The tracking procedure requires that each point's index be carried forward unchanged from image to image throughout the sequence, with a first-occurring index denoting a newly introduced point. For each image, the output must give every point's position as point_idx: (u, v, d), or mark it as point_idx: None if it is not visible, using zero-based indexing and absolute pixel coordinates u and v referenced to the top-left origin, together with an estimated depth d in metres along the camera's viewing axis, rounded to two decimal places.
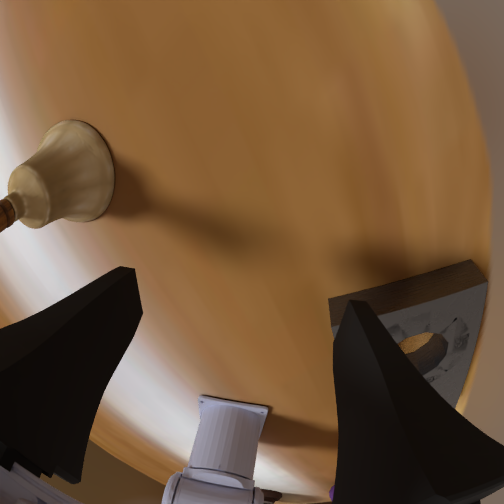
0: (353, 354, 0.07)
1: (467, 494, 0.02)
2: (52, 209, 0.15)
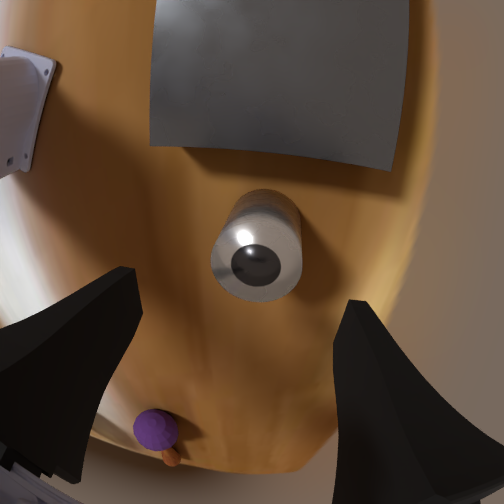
0: (353, 354, 0.07)
1: (467, 494, 0.02)
2: None
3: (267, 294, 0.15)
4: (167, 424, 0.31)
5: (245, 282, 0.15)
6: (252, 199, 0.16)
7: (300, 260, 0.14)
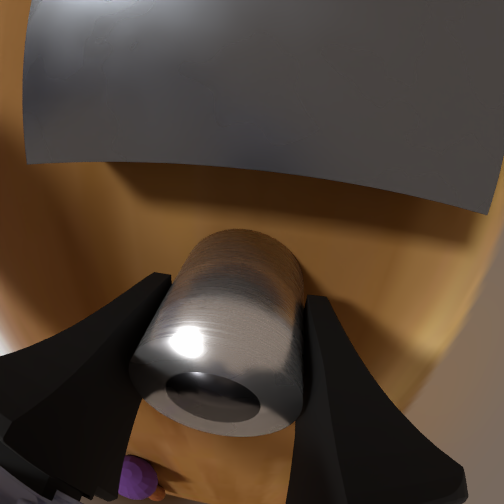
0: (307, 350, 0.08)
1: None
2: None
3: (238, 430, 0.07)
4: (144, 475, 0.23)
5: (197, 415, 0.07)
6: (212, 255, 0.08)
7: (299, 400, 0.06)
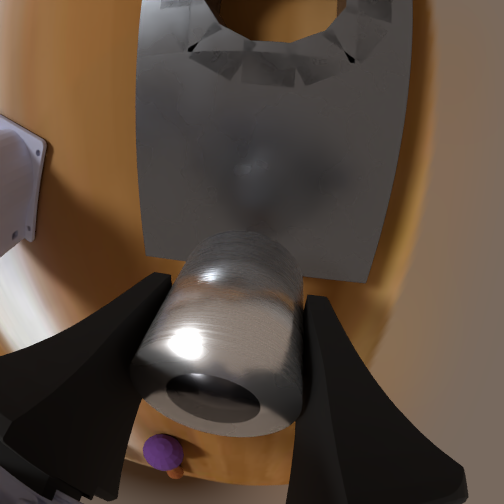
0: (307, 350, 0.08)
1: None
2: None
3: (238, 431, 0.07)
4: (174, 448, 0.33)
5: (197, 416, 0.07)
6: (212, 257, 0.08)
7: (299, 401, 0.06)
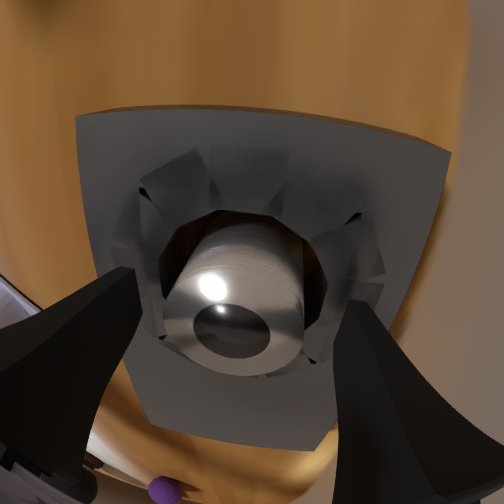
0: (353, 354, 0.07)
1: (467, 494, 0.02)
2: None
3: (250, 368, 0.10)
4: (174, 490, 0.35)
5: (216, 352, 0.09)
6: (230, 222, 0.11)
7: (301, 328, 0.08)
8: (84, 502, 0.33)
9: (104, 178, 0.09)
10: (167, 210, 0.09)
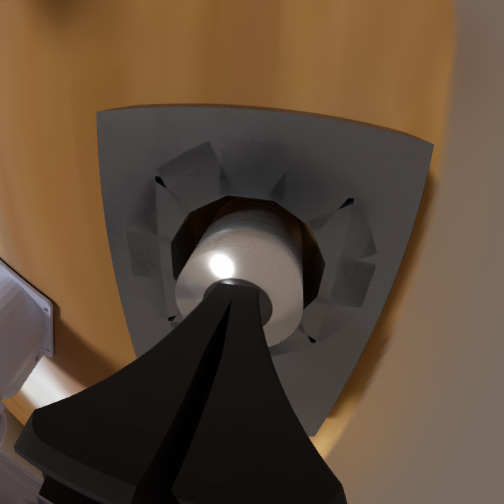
0: None
1: None
2: None
3: None
4: None
5: None
6: (237, 209, 0.12)
7: (300, 302, 0.09)
8: None
9: (123, 168, 0.10)
10: (181, 196, 0.10)
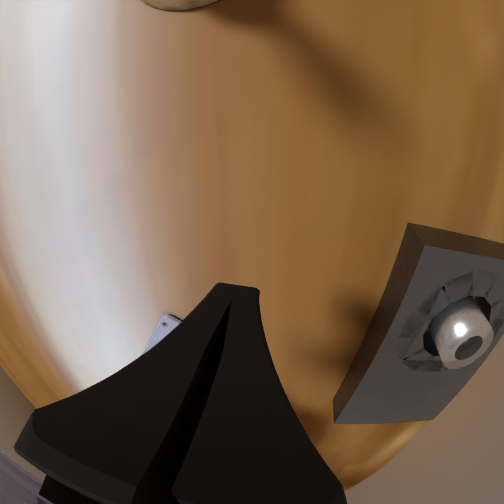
0: None
1: None
2: None
3: (464, 363, 0.16)
4: None
5: (457, 358, 0.16)
6: None
7: (490, 341, 0.15)
8: None
9: (427, 280, 0.15)
10: (450, 296, 0.16)
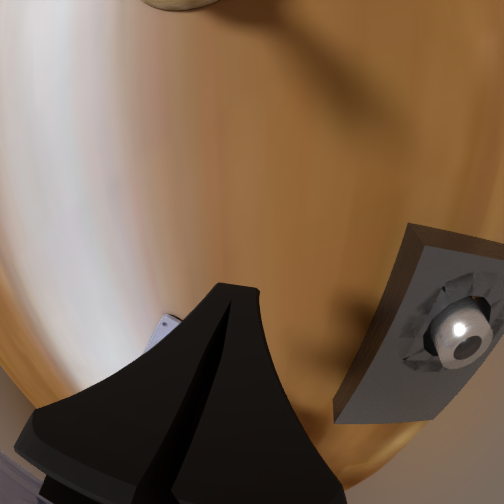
0: None
1: None
2: None
3: (462, 363, 0.16)
4: None
5: (455, 358, 0.16)
6: None
7: (490, 342, 0.15)
8: None
9: (427, 280, 0.15)
10: (450, 296, 0.16)
